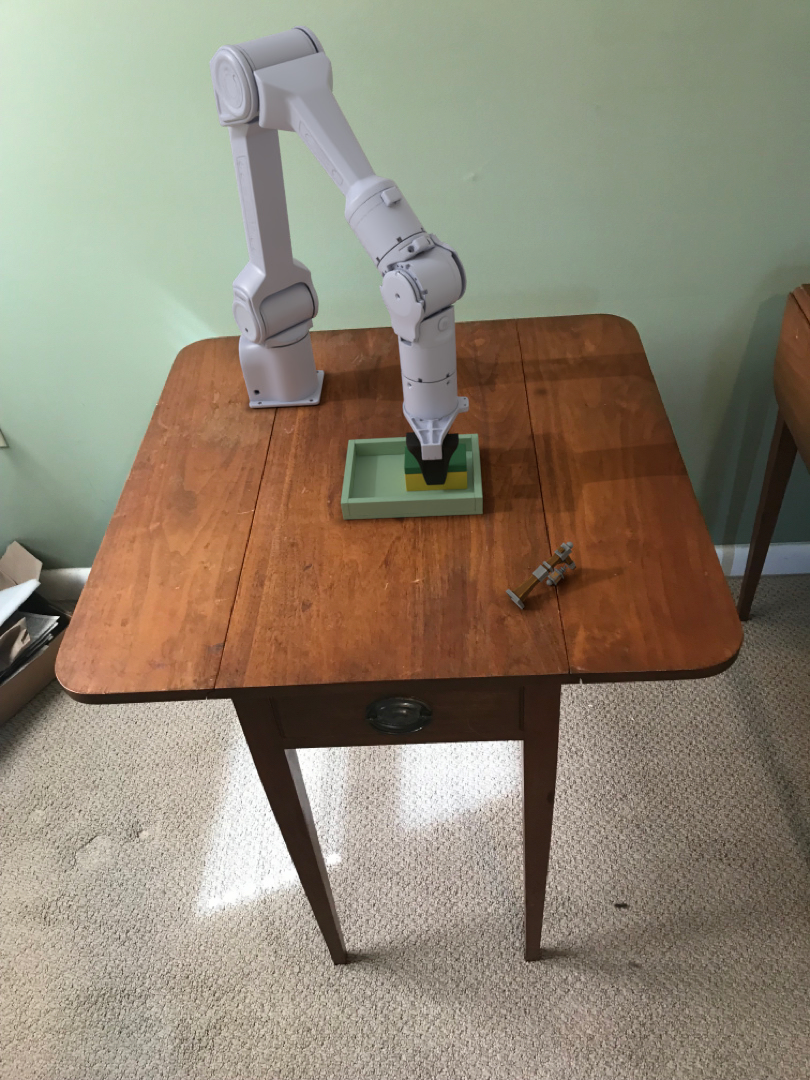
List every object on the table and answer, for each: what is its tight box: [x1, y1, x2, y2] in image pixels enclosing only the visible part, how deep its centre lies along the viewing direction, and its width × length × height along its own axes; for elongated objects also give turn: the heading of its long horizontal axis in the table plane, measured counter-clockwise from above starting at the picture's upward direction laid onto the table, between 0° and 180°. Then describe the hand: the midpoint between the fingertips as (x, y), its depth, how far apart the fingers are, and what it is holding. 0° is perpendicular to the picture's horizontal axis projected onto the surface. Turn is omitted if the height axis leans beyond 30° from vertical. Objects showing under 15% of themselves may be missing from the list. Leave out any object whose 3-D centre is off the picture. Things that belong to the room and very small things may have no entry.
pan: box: [340, 433, 484, 521], centre depth 89 cm, size 16×12×2 cm
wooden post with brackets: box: [505, 541, 577, 610], centre depth 76 cm, size 2×8×4 cm, turn 123°
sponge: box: [404, 443, 467, 491], centre depth 88 cm, size 7×4×4 cm, turn 89°
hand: (435, 470), depth 89 cm, fingers closed on sponge, 4 cm apart
